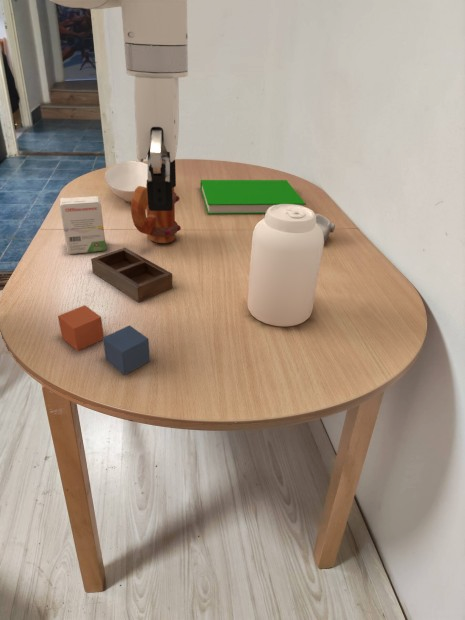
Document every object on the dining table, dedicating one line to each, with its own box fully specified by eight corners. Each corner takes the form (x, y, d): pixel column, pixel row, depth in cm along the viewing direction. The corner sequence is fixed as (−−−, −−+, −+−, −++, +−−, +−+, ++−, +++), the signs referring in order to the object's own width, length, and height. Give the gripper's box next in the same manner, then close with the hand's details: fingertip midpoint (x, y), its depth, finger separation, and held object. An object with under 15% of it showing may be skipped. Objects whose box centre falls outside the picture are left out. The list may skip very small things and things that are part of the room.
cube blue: (124, 375, 69) (121, 352, 67) (105, 360, 72) (102, 337, 70) (150, 361, 73) (148, 338, 70) (131, 347, 75) (129, 325, 73)
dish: (337, 238, 118) (340, 220, 115) (309, 254, 108) (312, 235, 106) (290, 222, 125) (292, 205, 122) (260, 237, 116) (262, 218, 113)
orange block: (77, 351, 74) (73, 328, 71) (61, 337, 77) (57, 315, 74) (104, 338, 77) (101, 316, 74) (88, 326, 80) (84, 304, 77)
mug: (159, 229, 117) (157, 171, 109) (186, 236, 114) (185, 177, 106) (122, 250, 106) (117, 186, 97) (151, 258, 103) (148, 194, 94)
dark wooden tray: (138, 302, 87) (137, 287, 85) (92, 272, 96) (90, 258, 94) (172, 287, 92) (172, 273, 91) (126, 260, 101) (124, 247, 99)
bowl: (160, 212, 127) (159, 190, 124) (105, 213, 124) (102, 191, 121) (155, 179, 151) (154, 160, 148) (108, 179, 149) (106, 161, 145)
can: (324, 312, 87) (343, 213, 76) (281, 336, 80) (296, 231, 69) (276, 286, 95) (287, 193, 84) (233, 307, 87) (239, 207, 76)
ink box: (104, 242, 109) (98, 194, 102) (106, 251, 105) (100, 202, 98) (66, 246, 106) (58, 197, 100) (67, 255, 102) (59, 204, 96)
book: (304, 213, 132) (305, 203, 130) (208, 214, 127) (208, 204, 126) (285, 188, 150) (286, 179, 149) (200, 188, 146) (200, 179, 144)
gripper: (134, 55, 62) (142, 179, 72) (114, 67, 48) (128, 220, 57) (189, 57, 63) (190, 179, 72) (186, 69, 48) (188, 221, 58)
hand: (163, 197), depth 65 cm, fingers open, 9 cm apart
